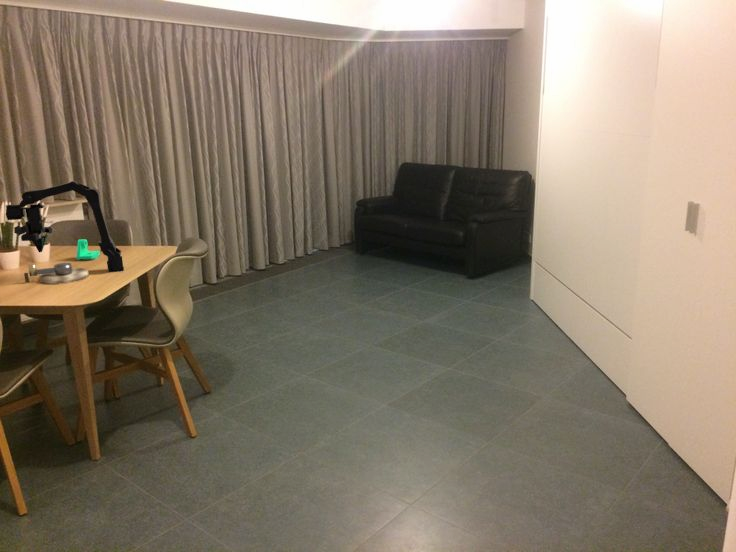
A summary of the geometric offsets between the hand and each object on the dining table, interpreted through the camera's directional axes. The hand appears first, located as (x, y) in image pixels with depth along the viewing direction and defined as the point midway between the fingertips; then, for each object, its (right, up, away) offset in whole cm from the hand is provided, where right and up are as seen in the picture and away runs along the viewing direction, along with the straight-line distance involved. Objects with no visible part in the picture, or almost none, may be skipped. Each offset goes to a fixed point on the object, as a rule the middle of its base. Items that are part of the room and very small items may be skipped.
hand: (40, 252), depth 261 cm
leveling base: (+8, -12, -1) cm, 15 cm away
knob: (+6, -10, -2) cm, 12 cm away
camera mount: (+4, -2, +37) cm, 37 cm away
